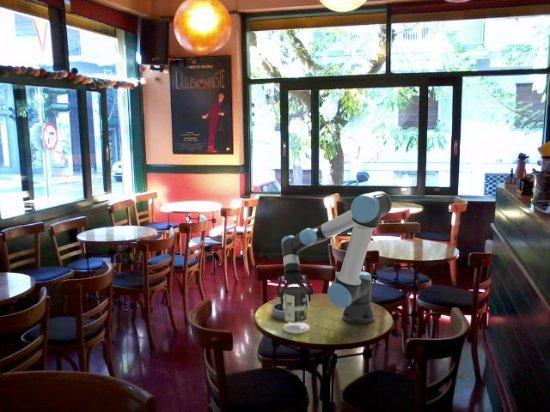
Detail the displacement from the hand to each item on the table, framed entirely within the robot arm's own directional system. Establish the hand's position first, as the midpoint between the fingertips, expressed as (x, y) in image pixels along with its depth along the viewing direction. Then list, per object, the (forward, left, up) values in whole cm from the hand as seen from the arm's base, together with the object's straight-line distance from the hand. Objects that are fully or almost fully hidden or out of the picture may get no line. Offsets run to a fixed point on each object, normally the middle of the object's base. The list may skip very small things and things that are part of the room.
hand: (296, 309), depth 239 cm
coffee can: (+2, -3, -6) cm, 7 cm away
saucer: (+1, -3, -10) cm, 11 cm away
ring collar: (+12, -18, -10) cm, 24 cm away
